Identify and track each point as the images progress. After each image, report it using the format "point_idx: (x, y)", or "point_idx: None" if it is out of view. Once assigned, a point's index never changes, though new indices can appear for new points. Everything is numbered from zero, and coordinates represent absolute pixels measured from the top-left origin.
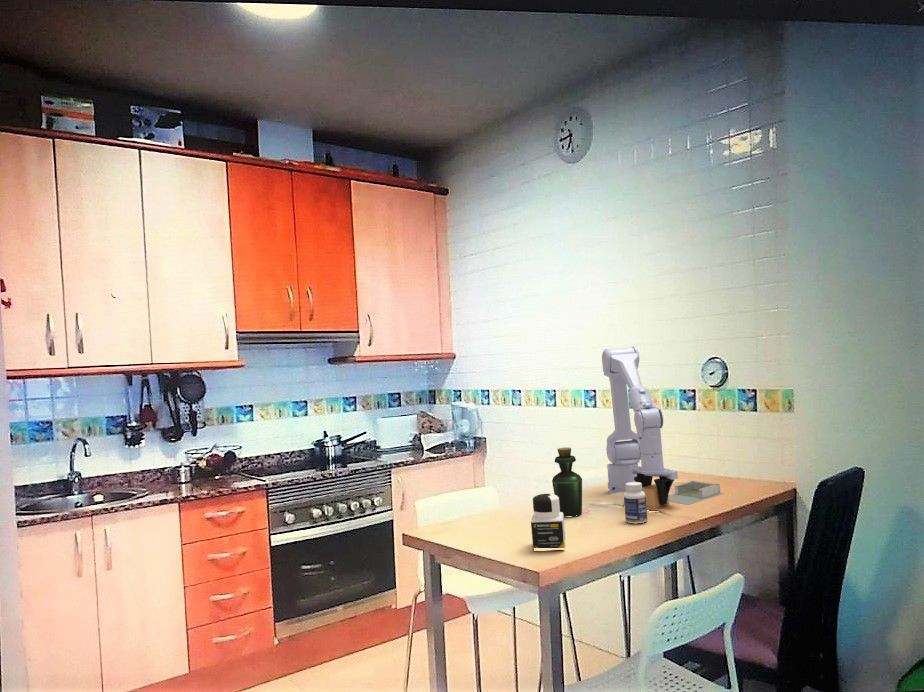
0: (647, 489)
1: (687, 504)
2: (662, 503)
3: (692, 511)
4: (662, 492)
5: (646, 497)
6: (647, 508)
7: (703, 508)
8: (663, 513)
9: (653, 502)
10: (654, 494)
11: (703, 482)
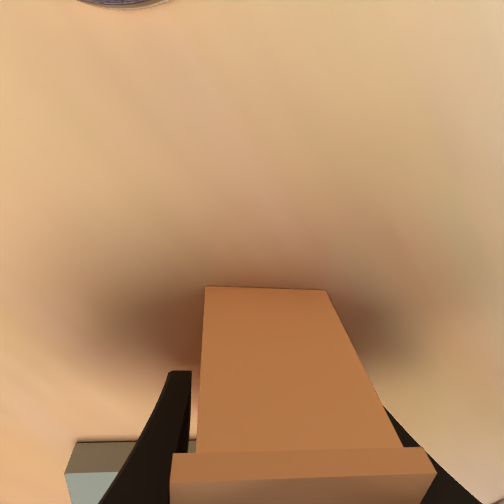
0: (299, 472)
1: (75, 474)
2: (166, 386)
3: (18, 423)
4: (111, 493)
5: (304, 375)
6: (281, 301)
7: (29, 486)
8: (134, 300)
9: (208, 342)
10: (198, 430)
11: None
